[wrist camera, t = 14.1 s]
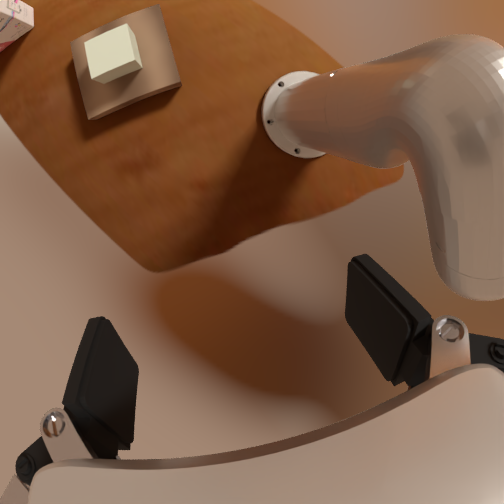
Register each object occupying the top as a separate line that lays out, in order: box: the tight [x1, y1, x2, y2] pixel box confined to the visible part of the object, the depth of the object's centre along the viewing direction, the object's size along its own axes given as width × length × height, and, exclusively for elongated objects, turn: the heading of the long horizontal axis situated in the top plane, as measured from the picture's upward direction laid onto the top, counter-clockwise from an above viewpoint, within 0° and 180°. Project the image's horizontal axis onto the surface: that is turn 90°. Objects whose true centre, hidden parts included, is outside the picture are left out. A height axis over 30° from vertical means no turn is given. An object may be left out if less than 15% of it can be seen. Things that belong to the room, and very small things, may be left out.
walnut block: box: [70, 4, 182, 120], centre depth 24 cm, size 12×12×4 cm
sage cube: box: [84, 24, 143, 84], centre depth 20 cm, size 5×5×4 cm
